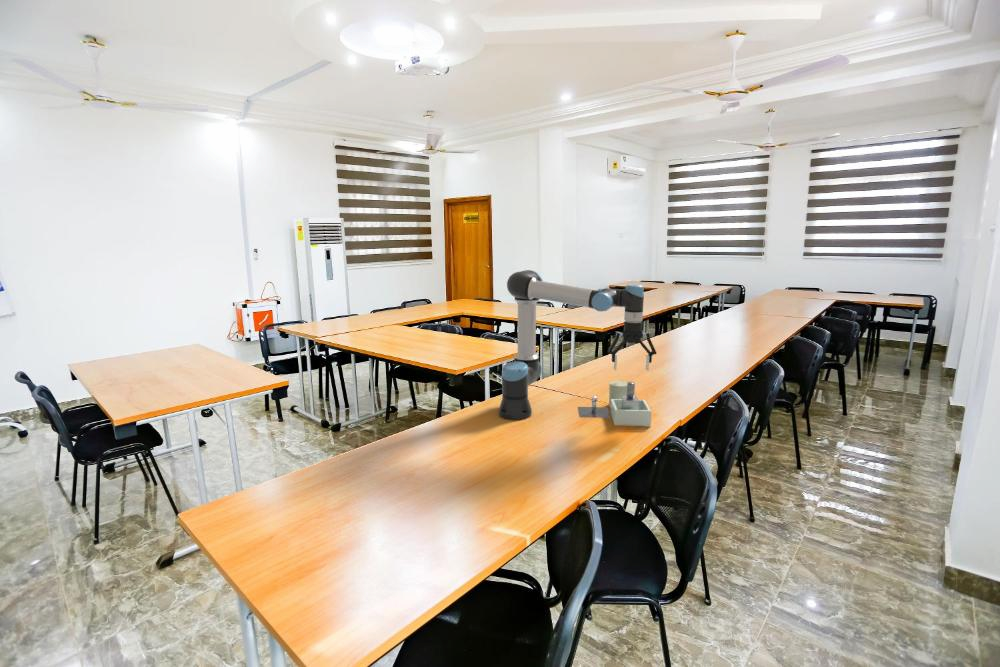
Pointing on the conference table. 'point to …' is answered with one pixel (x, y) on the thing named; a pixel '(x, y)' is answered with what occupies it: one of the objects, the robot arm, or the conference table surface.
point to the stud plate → (594, 415)
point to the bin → (631, 414)
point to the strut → (630, 398)
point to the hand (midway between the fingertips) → (631, 369)
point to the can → (617, 390)
